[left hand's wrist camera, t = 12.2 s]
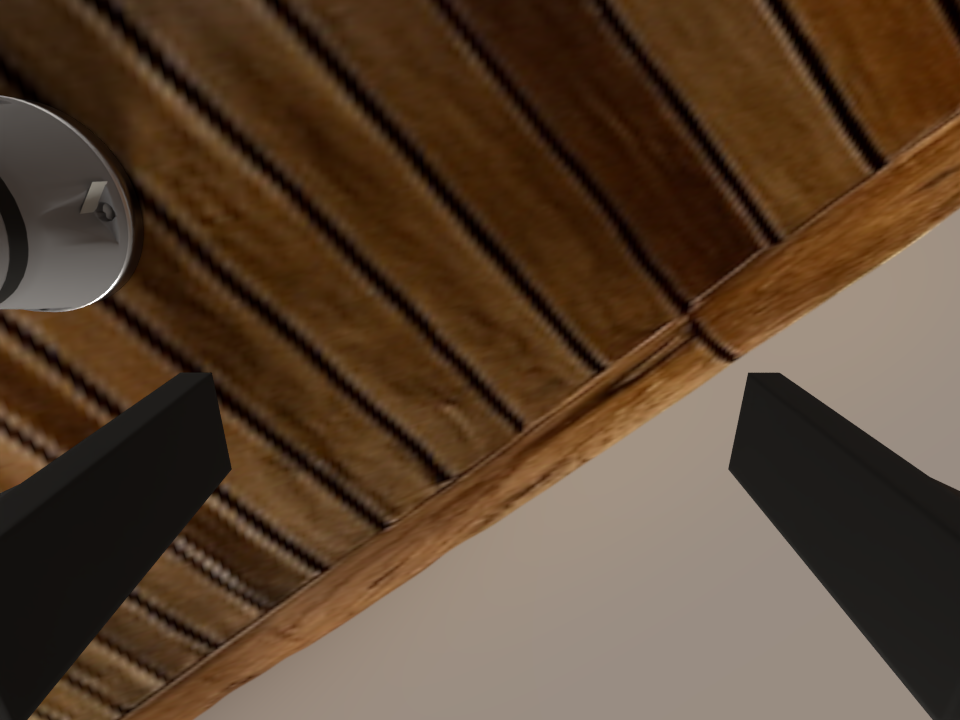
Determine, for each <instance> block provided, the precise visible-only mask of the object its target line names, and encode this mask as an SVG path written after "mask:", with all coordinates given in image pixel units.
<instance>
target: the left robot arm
mask: <svg viewBox="0 0 960 720" xmlns="http://www.w3.org/2000/svg"><path fill="white" fill-rule="evenodd" d="M142 246H143V219H142V213H141V208H140V205H139V201H138V198H137V195H136V193H135V190H134V188H133V186H132V183H131V181H130V179H129V177H128V176H127V174H126V172H125V170H124V169H123V167H122V166H121V164H120V163H119V161H118V160H117V158H116V157H115V156H114V155H113V153H112V152H111V151H110V149H109V148H108V147H107V146H106V145H105V144H104V143H103V142H102V141H101V140H100V139H99V138H98V137H97V136H96V135H95V134H94V133H93V132H91V131H90V130H89V129H88V128H86V127H85V126H84V125H83V124H81V123H80V122H78V121H77V120H75V119H74V118H72V117H70V116H69V115H67V114H65V113H63V112H62V111H59V110H57V109H55V108H53V107H51V106H48V105H45V104H42V103H39V102H35V101H32V100H27V99H20V98H14V97H7V96H0V309H24V310H31V311H43V312H63V311H70V310H74V309H78V308H82V307H84V306H87V305H90V304H93V303H96V302H98V301H101V300H103V299H105V298H107V297H109V296H111V295H112V294H114V293H115V292H117V291H118V290H119V289H120V288H121V287H123V286H124V285H125V283H126V282H127V281H128V280H129V279H130V277H131V276H132V274H133V273H134V271H135V269H136V267H137V265H138V262H139V259H140V256H141V251H142ZM230 471H231V464H230V459H229V454H228V449H227V444H226V439H225V435H224V430H223V425H222V420H221V415H220V410H219V405H218V401H217V396H216V391H215V386H214V381H213V376H212V373H179V374H178V375H177V376H175V377H174V378H172V379H171V380H169V381H168V382H166V383H165V384H164V385H162V386H161V387H159V388H158V389H156V390H155V391H153V392H152V393H151V394H149V395H148V396H146V397H145V398H143V399H142V400H141V401H139V402H138V403H136V404H135V405H133V406H132V407H130V408H129V409H128V410H126V411H125V412H123V413H122V414H120V415H119V416H117V417H116V418H115V419H113V420H112V421H110V422H109V423H107V424H106V425H105V426H103V427H102V428H100V429H99V430H97V431H96V432H94V433H93V434H92V435H90V436H89V437H87V438H86V439H84V440H83V441H81V442H80V443H79V444H77V445H76V446H74V447H73V448H71V449H70V450H69V451H67V452H66V453H64V454H63V455H61V456H60V457H58V458H57V459H56V460H54V461H53V462H51V463H50V464H48V465H47V466H45V467H44V468H43V469H41V470H40V471H38V472H37V473H35V474H34V475H33V476H31V477H30V478H28V479H27V480H25V481H24V482H22V483H21V484H19V485H17V486H15V487H13V488H11V489H9V490H6V491H4V492H2V493H0V720H27V719H28V718H29V717H30V716H31V714H32V713H33V712H34V711H35V710H36V708H37V707H38V706H39V705H40V703H41V702H42V701H43V700H44V699H45V697H46V696H47V695H48V694H49V692H50V691H51V690H52V689H53V688H54V686H55V685H56V684H57V683H58V681H59V680H60V679H61V678H62V676H63V675H64V674H65V673H66V672H67V670H68V669H69V668H70V667H71V665H72V664H73V663H74V662H75V661H76V659H77V658H78V657H79V656H80V654H81V653H82V652H83V651H84V650H85V648H86V647H87V646H88V645H89V643H90V642H91V641H92V640H93V638H94V637H95V636H96V635H97V634H98V632H99V631H100V630H101V629H102V627H103V626H104V625H105V624H106V623H107V621H108V620H109V619H110V618H111V616H112V615H113V614H114V613H115V612H116V610H117V609H118V608H119V607H120V605H121V604H122V603H123V602H124V600H125V599H126V598H127V597H128V596H129V594H130V593H131V592H132V591H133V589H134V588H135V587H136V586H137V585H138V583H139V582H140V581H141V580H142V578H143V577H144V576H145V575H146V574H147V572H148V571H149V570H150V569H151V567H152V566H153V565H154V564H155V562H156V561H157V560H158V559H159V558H160V556H161V555H162V554H163V553H164V551H165V550H166V549H167V548H168V547H169V545H170V544H171V543H172V542H173V540H174V539H175V538H176V537H177V536H178V534H179V533H180V532H181V531H182V529H183V528H184V527H185V526H186V524H187V523H188V522H189V521H190V520H191V518H192V517H193V516H194V515H195V513H196V512H197V511H198V510H199V509H200V507H201V506H202V505H203V504H204V502H205V501H206V500H207V499H208V498H209V496H210V495H211V494H212V493H213V491H214V490H215V489H216V488H217V487H218V485H219V484H220V483H221V482H222V480H223V479H224V478H225V477H226V475H227V474H228V473H229V472H230ZM729 471H730V472H731V473H732V474H733V475H734V477H735V478H736V479H737V480H738V482H739V483H740V484H741V485H742V486H743V488H744V489H745V490H746V491H747V493H748V494H749V495H750V496H751V498H752V499H753V500H754V501H755V502H756V504H757V505H758V506H759V507H760V509H761V510H762V511H763V512H764V513H765V515H766V516H767V517H768V518H769V520H770V521H771V522H772V523H773V525H774V526H775V527H776V528H777V529H778V531H779V532H780V533H781V534H782V536H783V537H784V538H785V539H786V540H787V542H788V543H789V544H790V545H791V546H792V548H793V549H794V550H795V551H796V553H797V554H798V555H799V556H800V558H801V559H802V560H803V561H804V562H805V564H806V565H807V566H808V567H809V569H810V570H811V571H812V572H813V573H814V575H815V576H816V577H817V578H818V580H819V581H820V582H821V583H822V585H823V586H824V587H825V588H826V589H827V591H828V592H829V593H830V594H831V596H832V597H833V598H834V599H835V600H836V602H837V603H838V604H839V605H840V607H841V608H842V609H843V610H844V612H845V613H846V614H847V615H848V616H849V618H850V619H851V620H852V621H853V623H854V624H855V625H856V626H857V627H858V629H859V630H860V631H861V632H862V634H863V635H864V636H865V637H866V638H867V640H868V641H869V642H870V643H871V645H872V646H873V647H874V648H875V650H876V651H877V652H878V653H879V654H880V656H881V657H882V658H883V659H884V661H885V662H886V663H887V664H888V665H889V667H890V668H891V669H892V670H893V672H894V673H895V674H896V675H897V676H898V678H899V679H900V680H901V681H902V683H903V684H904V685H905V686H906V688H907V689H908V690H909V691H910V692H911V694H912V695H913V696H914V697H915V699H916V700H917V701H918V702H919V703H920V705H921V706H922V707H923V708H924V710H925V711H926V712H927V713H928V714H929V716H930V717H931V718H932V719H933V720H960V491H958V490H956V489H954V488H952V487H950V486H948V485H946V484H943V483H941V482H939V481H937V480H935V479H933V478H931V477H929V476H927V475H926V474H925V473H923V472H922V471H920V470H919V469H917V468H916V467H915V466H913V465H912V464H910V463H909V462H907V461H906V460H904V459H903V458H902V457H900V456H899V455H897V454H896V453H894V452H893V451H891V450H890V449H889V448H887V447H886V446H884V445H883V444H881V443H880V442H878V441H877V440H876V439H874V438H873V437H871V436H870V435H868V434H867V433H866V432H864V431H863V430H861V429H860V428H858V427H857V426H855V425H854V424H853V423H851V422H850V421H848V420H847V419H845V418H844V417H843V416H841V415H840V414H838V413H837V412H835V411H834V410H832V409H831V408H830V407H828V406H827V405H825V404H824V403H822V402H821V401H819V400H818V399H817V398H815V397H814V396H812V395H811V394H809V393H808V392H807V391H805V390H804V389H802V388H801V387H799V386H798V385H796V384H795V383H794V382H792V381H791V380H789V379H788V378H786V377H785V376H783V375H782V374H781V373H748V376H747V381H746V386H745V391H744V396H743V401H742V405H741V410H740V415H739V420H738V425H737V430H736V435H735V439H734V445H733V449H732V454H731V459H730V464H729Z"/></svg>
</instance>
